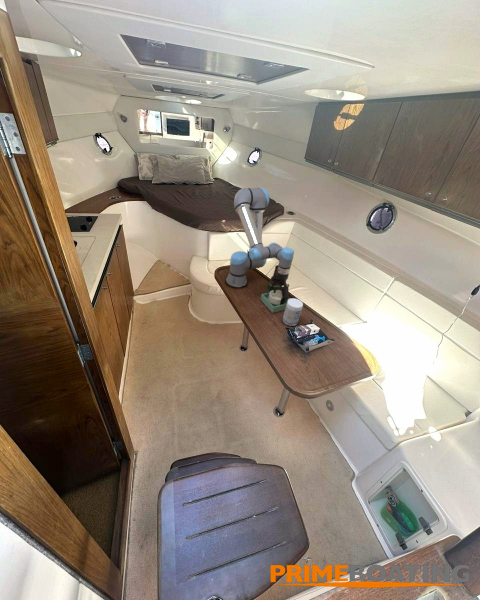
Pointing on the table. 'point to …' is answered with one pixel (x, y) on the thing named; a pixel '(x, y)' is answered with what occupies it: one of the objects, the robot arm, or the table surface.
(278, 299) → the cream ribbed bowl
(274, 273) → the brown glass bottle
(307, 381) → the table surface
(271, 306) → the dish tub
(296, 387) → the table surface
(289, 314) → the supplement tub
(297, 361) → the table surface
